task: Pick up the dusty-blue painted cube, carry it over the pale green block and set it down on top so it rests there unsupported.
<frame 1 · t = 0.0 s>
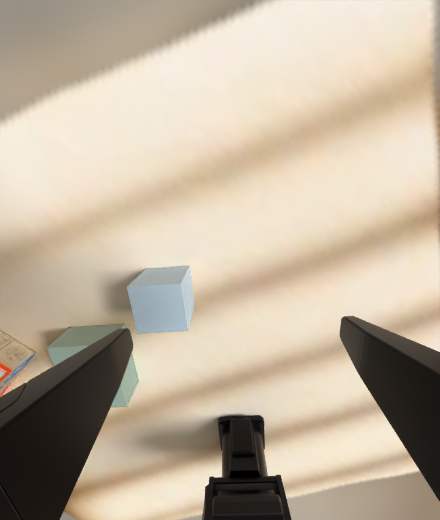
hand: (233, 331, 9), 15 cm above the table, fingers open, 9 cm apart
cube: (171, 287, 25), on the table
pale green block: (107, 353, 28), on the table
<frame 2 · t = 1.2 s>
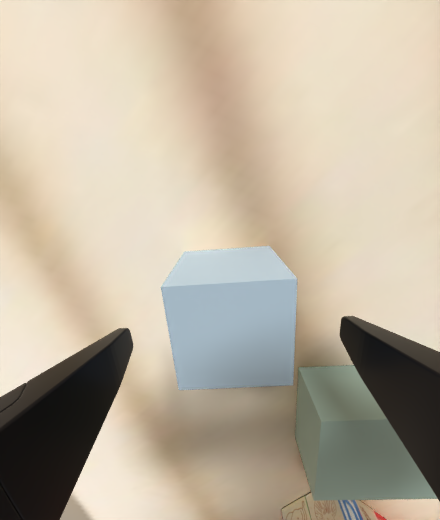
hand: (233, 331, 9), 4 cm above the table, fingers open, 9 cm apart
cube: (229, 287, 13), on the table
pale green block: (355, 398, 16), on the table
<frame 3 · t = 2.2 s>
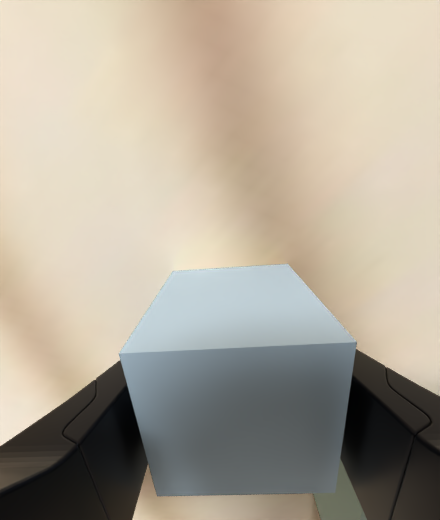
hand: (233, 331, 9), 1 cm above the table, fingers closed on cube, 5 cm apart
cube: (232, 317, 10), on the table, touching gripper
pale green block: (389, 449, 13), on the table
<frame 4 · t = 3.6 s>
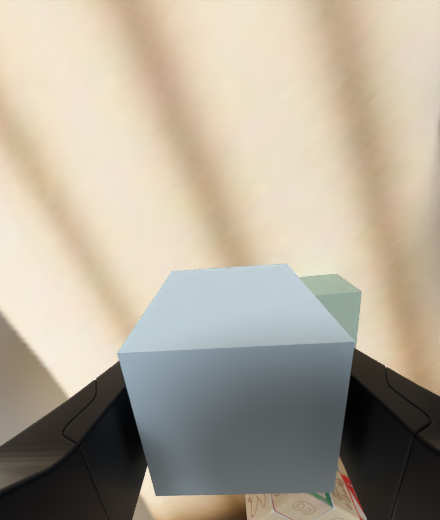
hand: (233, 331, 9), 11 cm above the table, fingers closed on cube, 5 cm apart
cube: (232, 317, 10), point 10 cm above the table, touching gripper
stack of blocks: (319, 435, 26), on the table
pale green block: (287, 309, 21), on the table
when the fingers open (6 cm above the table, at t = 5.2 s): cube drops 2 cm, point 4 cm above the table.
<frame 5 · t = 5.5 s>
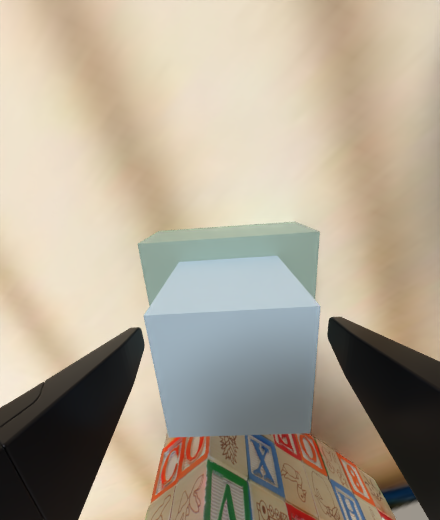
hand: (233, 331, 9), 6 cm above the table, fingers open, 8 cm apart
cube: (230, 302, 12), point 4 cm above the table
stack of blocks: (278, 442, 21), on the table
pale green block: (229, 274, 15), on the table
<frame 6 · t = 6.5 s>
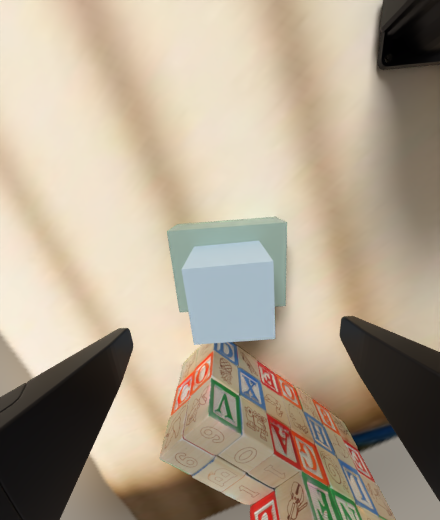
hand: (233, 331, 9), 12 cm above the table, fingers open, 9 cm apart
cube: (229, 273, 17), point 4 cm above the table, touching pale green block
stack of blocks: (266, 392, 26), on the table
pale green block: (228, 256, 21), on the table, touching cube
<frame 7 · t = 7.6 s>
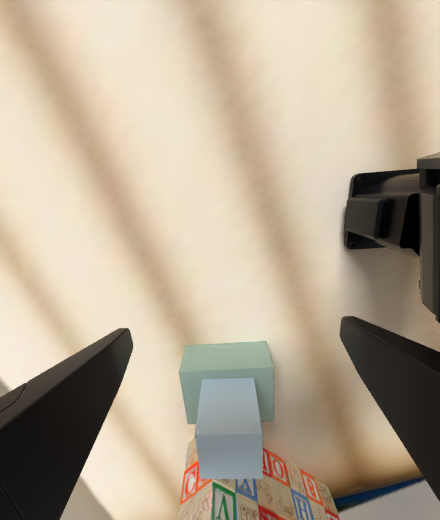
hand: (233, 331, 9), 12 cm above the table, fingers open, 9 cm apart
cube: (229, 398, 21), point 4 cm above the table
stack of blocks: (260, 463, 30), on the table
pale green block: (227, 366, 25), on the table
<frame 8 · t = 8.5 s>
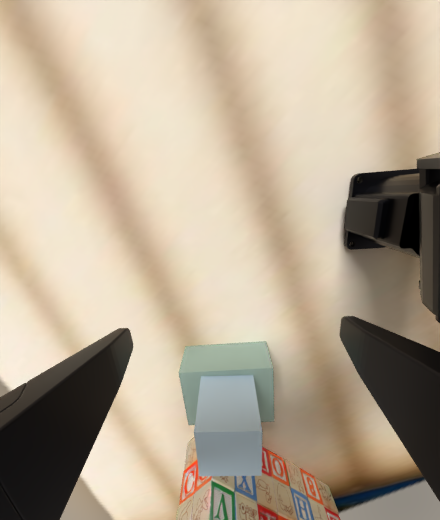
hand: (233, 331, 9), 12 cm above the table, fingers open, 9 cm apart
cube: (227, 395, 21), point 4 cm above the table
stack of blocks: (260, 462, 30), on the table
pale green block: (227, 366, 25), on the table
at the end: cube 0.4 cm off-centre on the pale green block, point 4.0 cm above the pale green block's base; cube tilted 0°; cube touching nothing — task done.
